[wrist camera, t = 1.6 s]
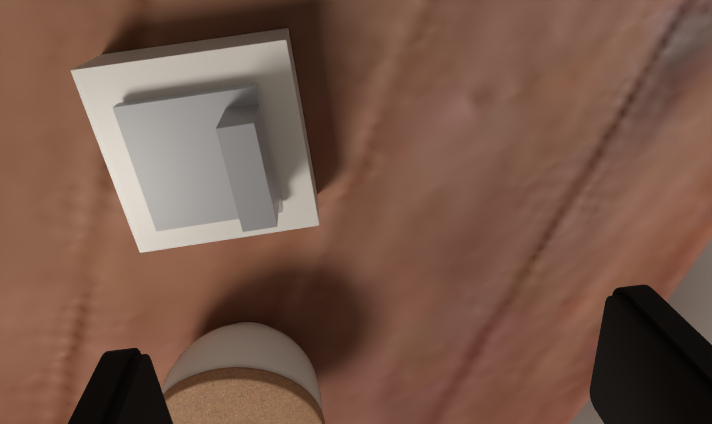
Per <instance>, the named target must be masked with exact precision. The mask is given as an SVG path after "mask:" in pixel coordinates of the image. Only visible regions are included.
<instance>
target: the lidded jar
mask: <svg viewBox="0 0 712 424" xmlns="http://www.w3.org/2000/svg"><path fill="white" fill-rule="evenodd" d="M161 390H162V393H163V396H164V398H165V401H166V404H167V407H168V410H169V413H170V416H171V419H172V421H173V424H325V420H324V417H323V411H322V399H321V392H320V388H319V383H318V380H317V377H316V374H315V371H314V368H313V366H312V364H311V362H310V360H309V358H308V357H307V355H306V354H305V352H304V351H303V350H302V349H301V347H300V346H299V345H298V344H296V343H295V342H294V341H293V340H292V339H291V338H290V337H288V336H287V335H285V334H284V333H282V332H280V331H278V330H276V329H273V328H272V327H269V326H267V325H264V324H261V323H255V322H240V323H235V324H231V325H227V326H223V327H220V328H217V329H214V330H213V331H211V332H209V333H207V334H205V335H203V336H201V337H200V338H198V339H197V340H196V341H194V342H193V343H192V344H191V345H190V346H189V347H188V348H187V349H186V350H185V351H184V352H183V353H182V354H181V355H180V356H179V358H178V359H177V361H176V362H175V364H174V365H173V367H172V368H171V369H170V371H169V373H168V375H167V377H166V379H165V381H164V383H163V385H162V387H161Z"/></svg>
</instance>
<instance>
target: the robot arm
mask: <svg viewBox="0 0 712 424" xmlns="http://www.w3.org/2000/svg"><path fill="white" fill-rule="evenodd" d="M590 398H591V401H592V404H593V406H594V408H595V410H596V411H597V412H598V414H599V416H600V418H601V419H602V421H603V422H604V424H712V345H711V344H710V343H709V342H708V341H707V340H706V339H705V338H704V337H703V336H701V334H700V333H699V332H697V331H696V330H695V329H694V328H693V327H692V326H691V325H690V324H689V323H688V322H687V321H686V320H685V319H684V318H683V317H682V316H680V314H678V313H677V312H676V311H675V310H674V309H673V308H672V307H671V306H670V305H669V304H668V303H667V302H666V301H665V300H664V299H663V298H662V297H661V296H660V295H659V294H657V293H656V292H655V291H654V290H653V289H652V288H651V287H649V286H648V285H636V286H628V287H620V288H616V289H615V290H614V292H613V294H612V296H609V297H608V298H607V299H606V302H605V307H604V313H603V318H602V324H601V329H600V335H599V341H598V346H597V352H596V357H595V363H594V369H593V374H592V380H591V385H590ZM68 424H173V421H172V419H171V416H170V413H169V410H168V407H167V404H166V401H165V398H164V396H163V393H162V390H161V387H160V384H159V381H158V378H157V376H156V373H155V370H154V367H153V364H152V361H151V359H150V356H149V355H148V354H142V355H141V353H140V351H139V350H138V349H137V348H130V349H122V350H114V351H107V352H105V353H104V354H103V355H102V357H101V359H100V361H99V363H98V365H97V367H96V369H95V371H94V373H93V375H92V377H91V379H90V381H89V383H88V385H87V387H86V389H85V391H84V393H83V395H82V397H81V398H80V400H79V402H78V404H77V406H76V408H75V410H74V412H73V414H72V416H71V418H70V420H69V422H68Z"/></svg>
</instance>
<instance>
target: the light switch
mask: <svg viewBox="0 0 712 424" xmlns="http://www.w3.org/2000/svg"><path fill="white" fill-rule="evenodd" d="M71 73H72V75H73V78H74V81H75V83H76V86H77V89H78V91H79V94H80V96H81V99H82V102H83V104H84V107H85V110H86V112H87V115H88V118H89V120H90V123H91V125H92V128H93V131H94V133H95V136H96V139H97V141H98V144H99V146H100V149H101V152H102V154H103V157H104V160H105V162H106V165H107V167H108V170H109V173H110V175H111V178H112V181H113V183H114V186H115V189H116V191H117V194H118V196H119V199H120V202H121V204H122V207H123V210H124V212H125V215H126V217H127V220H128V223H129V225H130V228H131V231H132V233H133V236H134V238H135V241H136V244H137V246H138V249H139V252H140V253H142V252H148V251H155V250H161V249H168V248H174V247H181V246H188V245H194V244H201V243H207V242H214V241H220V240H227V239H233V238H240V237H247V236H253V235H260V234H266V233H273V232H279V231H286V230H292V229H299V228H305V227H312V226H319V212H318V196H317V189H316V184H315V178H314V172H313V167H312V161H311V155H310V149H309V144H308V138H307V132H306V127H305V121H304V115H303V110H302V104H301V98H300V92H299V87H298V81H297V75H296V70H295V64H294V58H293V52H292V47H291V41H290V35H289V30H288V28H285V29H278V30H271V31H264V32H256V33H249V34H242V35H235V36H228V37H221V38H214V39H207V40H200V41H193V42H186V43H179V44H172V45H165V46H158V47H151V48H144V49H137V50H130V51H123V52H116V53H109V54H102V55H99V56H97V57H95V58H94V59H92V60H90V61H88V62H86V63H84V64H82V65H80V66H78V67H76V68H74V69H72V70H71ZM252 83H257V85H258V90H259V94H260V99H261V104H262V108H263V113H264V118H265V123H266V127H267V132H268V137H269V141H270V146H271V151H272V155H273V160H274V165H275V170H276V174H277V179H278V184H279V188H280V193H281V198H282V202H283V212H281V213H278V223H277V227H273V228H266V229H260V230H253V231H246V232H243V231H242V227H241V224H240V220H239V219H235V220H228V221H222V222H215V223H209V224H202V225H195V226H189V227H182V228H176V229H169V230H163V231H156V229H155V226H154V224H153V221H152V218H151V215H150V212H149V210H148V207H147V204H146V201H145V198H144V195H143V193H142V190H141V187H140V184H139V181H138V178H137V176H136V173H135V170H134V167H133V164H132V162H131V159H130V156H129V153H128V150H127V147H126V145H125V142H124V139H123V136H122V133H121V131H120V128H119V125H118V122H117V119H116V116H115V114H114V111H113V108H112V107H114V106H115V105H116V104H117V103H121V102H128V101H135V100H142V99H149V98H155V97H162V96H169V95H176V94H183V93H190V92H197V91H204V90H211V89H218V88H225V87H231V86H238V85H245V84H252Z"/></svg>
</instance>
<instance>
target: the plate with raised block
mask: <svg viewBox="0 0 712 424" xmlns="http://www.w3.org/2000/svg"><path fill="white" fill-rule="evenodd" d="M112 108H113V111H114V114H115V116H116V119H117V122H118V125H119V128H120V131H121V133H122V136H123V139H124V142H125V145H126V147H127V150H128V153H129V156H130V159H131V162H132V164H133V167H134V170H135V173H136V176H137V178H138V181H139V184H140V187H141V190H142V193H143V195H144V198H145V201H146V204H147V207H148V210H149V212H150V215H151V218H152V221H153V224H154V226H155V229H156V231H163V230H169V229H176V228H182V227H189V226H195V225H202V224H209V223H215V222H222V221H228V220H235V219H239V220H240V224H241V227H242V231H243V232H246V231H253V230H260V229H266V228H273V227H277V223H278V213H281V212H283V202H282V198H281V193H280V188H279V184H278V179H277V174H276V170H275V165H274V160H273V155H272V151H271V146H270V141H269V137H268V132H267V127H266V123H265V118H264V113H263V108H262V104H261V99H260V94H259V90H258V85H257V83H252V84H245V85H238V86H231V87H225V88H218V89H211V90H204V91H197V92H190V93H183V94H176V95H169V96H162V97H155V98H149V99H142V100H135V101H128V102H121V103H117V104H116V105H115V106H114V107H112Z"/></svg>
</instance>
